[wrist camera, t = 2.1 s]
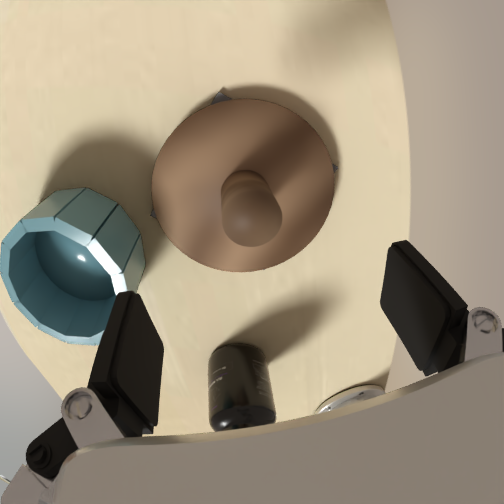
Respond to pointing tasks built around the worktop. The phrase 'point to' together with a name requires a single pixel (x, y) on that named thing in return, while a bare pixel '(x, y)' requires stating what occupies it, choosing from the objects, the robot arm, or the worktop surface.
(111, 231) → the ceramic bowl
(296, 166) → the walnut lid
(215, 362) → the supplement bottle
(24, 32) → the worktop surface
